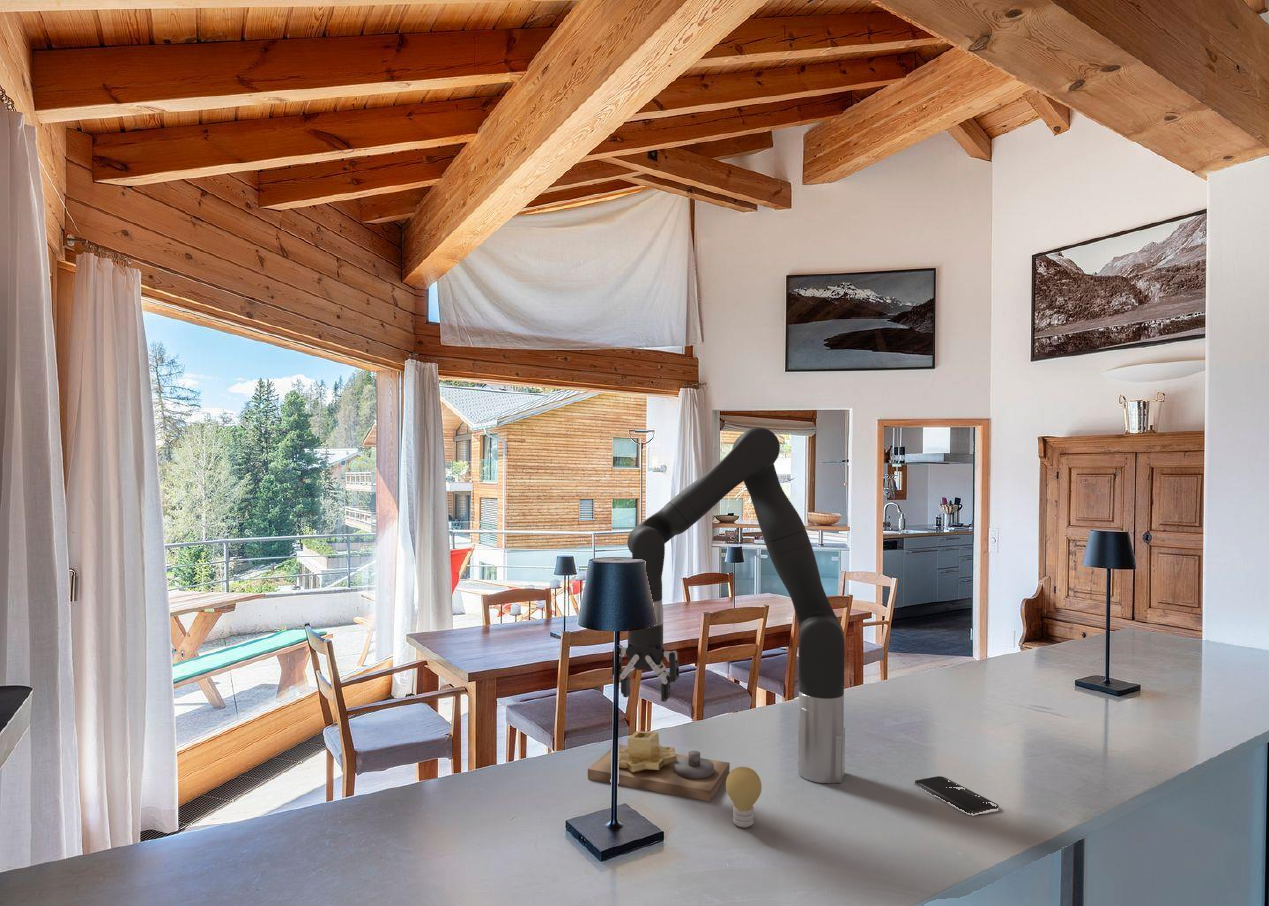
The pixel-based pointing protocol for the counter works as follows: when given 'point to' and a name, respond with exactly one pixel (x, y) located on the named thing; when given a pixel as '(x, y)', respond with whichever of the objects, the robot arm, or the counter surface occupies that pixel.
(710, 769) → the wooden peg board
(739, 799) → the light bulb
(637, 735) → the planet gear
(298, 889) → the counter surface
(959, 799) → the phone
